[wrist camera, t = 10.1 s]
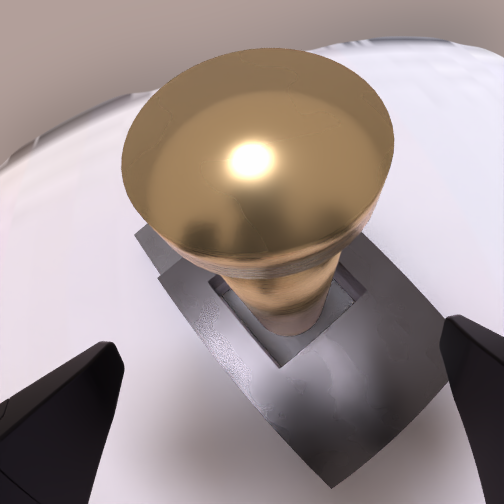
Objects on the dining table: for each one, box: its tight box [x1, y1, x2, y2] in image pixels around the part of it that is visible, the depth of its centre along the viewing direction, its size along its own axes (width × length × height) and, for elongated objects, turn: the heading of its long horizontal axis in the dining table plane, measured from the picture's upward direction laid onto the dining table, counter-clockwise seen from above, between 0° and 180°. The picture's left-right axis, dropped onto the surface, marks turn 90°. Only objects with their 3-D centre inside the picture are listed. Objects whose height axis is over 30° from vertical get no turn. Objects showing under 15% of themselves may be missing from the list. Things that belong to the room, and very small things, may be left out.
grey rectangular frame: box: [135, 224, 449, 489], centre depth 17 cm, size 18×10×3 cm, turn 39°
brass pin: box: [121, 48, 394, 336], centre depth 11 cm, size 5×5×14 cm
